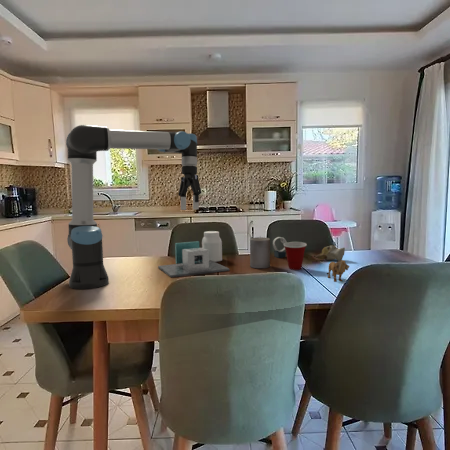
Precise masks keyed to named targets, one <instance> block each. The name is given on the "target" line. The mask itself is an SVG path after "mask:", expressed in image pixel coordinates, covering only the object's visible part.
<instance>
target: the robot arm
mask: <svg viewBox="0 0 450 450" xmlns="http://www.w3.org/2000/svg"><path fill="white" fill-rule="evenodd" d="M65 141H66V142H65V143H66V148H67V160H68V161H69V163H70V164H71V220H70V221H69V222H68V234H67V241H66V242H67V244H68V247H69V249H70V250H71V253H72V254H71V255H72V256H71V257H72V270H71V273H70V276H69V281H68V285H69V286H68V287H69V288H71V289H74V290H91V289H96V288H101V287H104V286H106V285H108V284H109V283H110V281H109V280H110V279H109V275H108V272H107V270H106V268H105V264H104V251H103V231H102V229H101V228H100V227H99V226H98V223H97V221H95V220H94V164H95V163H96V162H97V161H98V160H97V159H98V158H97V153H98V152H107V151H109V150H110V149H114V150H115V149H120V150H121V149H122V150H124V149H125V150H157V151H158V152H161V153H173V154H175V153H176V154H181V174H182V175H184V176H181V177H180V185H179V190H178V197H179V196H180V210H181V211H186V210H187V192H188V190H189V187H190V188H191V190H192V193H193V194H192V210H199V209H200V206H199V205H200V199H199V197H200V195H201V194H202V188H201V184H200V182H199V175H198V167H197V166H198V136H197V135H196V134H195V133H188V132H186V131H178V132H176V131H173V132H172V131H169V132H168V131H155V130H154V131H152V130H151V131H150V130H149V131H147V130H128V129H127V130H126V129H109V128H108V127H107V126H100V125H99V126H98V125H93V124H92V125H91V124H79V125H77V126H75V127H73V129H72V130H71V131H70V133H68V135H67V138H66V140H65Z"/></svg>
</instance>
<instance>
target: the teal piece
mask: <svg viewBox="0 0 450 450" xmlns="http://www.w3.org/2000/svg"><path fill="white" fill-rule="evenodd" d="M174 246H175V247H174V248H175V249H174V253H175V264H182V263H183V254H182V249H193V248H201V246H200V241H199V240H196V241H186V242H185V241H184V242H175V243H174ZM198 259H199V257H198V256H194V261H198Z"/></svg>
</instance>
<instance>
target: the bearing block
mask: <svg viewBox="0 0 450 450" xmlns="http://www.w3.org/2000/svg"><path fill="white" fill-rule="evenodd" d="M182 254H183V263H181V264H176V263H173V264H172V263H171V264H165V265H163V264H162V265H158V267H157V268H158V269H159V270H160V271H161V272H163V273H164V274H166V275H167V276H168V277H170V278H171V279H172V278H179V277H189V276H195V275H204V274H205V275H206V274H213V273H220V272H230V268H229V267H227V266H224V265H222V264H220V263H218V262H214V261H211V260H210V261H209V250H207V249H204V248H202V247H200V248H193V249H182ZM194 256H198V257H199V259H198V261H194Z"/></svg>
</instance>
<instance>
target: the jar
mask: <svg viewBox="0 0 450 450" xmlns="http://www.w3.org/2000/svg"><path fill="white" fill-rule="evenodd" d="M222 245H223V241H222V238H221V237H220V231H215V230H209V231H204V232H203V237H202V239H201V248H204V249H207V250H209V261H210V260H211V261H214V262H216V263H218V262H221V261H223V246H222Z"/></svg>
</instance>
